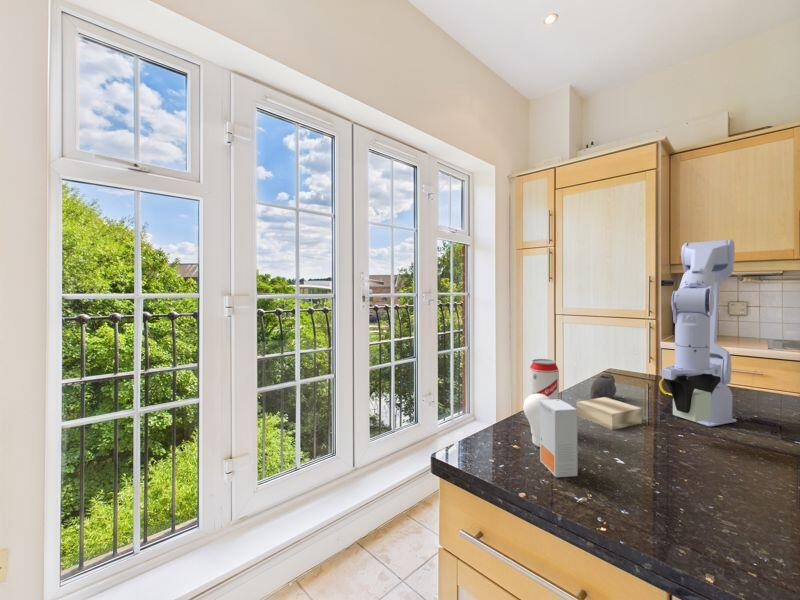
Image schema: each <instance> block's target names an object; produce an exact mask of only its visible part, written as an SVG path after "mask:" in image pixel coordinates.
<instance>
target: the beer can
mask: <svg viewBox="0 0 800 600" xmlns="http://www.w3.org/2000/svg"><path fill="white" fill-rule="evenodd" d="M559 374H560V372H559V367H558V366H557V361H556V360H553V359H547V358H536V359H533V360H532V363H531V365H530V367H529V396H530V395H532V394H543V395H545V396H547V397H548V398H550V399H551V400H553V399H559V398H560V393H559V392H560V390H559V387H560V386H559V385H560V379H559V378H560V375H559Z"/></svg>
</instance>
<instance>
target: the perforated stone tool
mask: <svg viewBox="0 0 800 600" xmlns="http://www.w3.org/2000/svg"><path fill="white" fill-rule="evenodd" d="M615 382H616V380H615V377H614V375H612V374H609V373H604V374H602V375H600V376H598V377H597V378H596V379H594V381H593V382H592V384H591V387H590V391H589V392H590V394H589V395H590V399H596V398H602V397H607V398H610V399H614V397H615V396H616V393H617V387H616V384H615Z"/></svg>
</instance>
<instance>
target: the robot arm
mask: <svg viewBox="0 0 800 600" xmlns="http://www.w3.org/2000/svg"><path fill="white" fill-rule="evenodd" d="M735 249H736V247H735V241H734V240H733V239H732V238H729V239H724V240H722V239H720V240H710V241H697V242H685V243H684V244H683V245H682V246H681V255H680V256H681V257H680V258H681V264H682V267H683V272H684V273H683V275H682V277H681V281H680V284H679V287H678V289H677V290H673V291H672V295H671V310H672V317H673V318H672V319H673V322H672V323H673V324H674V325H675V326H674V364H672V365H670V366H668V367H663V368H661V379H662V378H664V380H663V381H664V382H665V384H666V386H667V388H668V389H669V391H670V393H671V394H672V395H671V396H672V400H673V399H674V402H675V406H676V409H677V410H678V411H681V412H684V413H689V411H690V407H691V399H692V394H693V391H694V389H698V390H702V391H706V392H710V393H711V419H709V420H703V421H698V422H696V423H697V424H700V425H702V426H705V427H715V426H720V425H725V424H730V423H736V422H737V419H736V418H733V392H732V390H731V389H730V388H729V387H728V385H729V384H731V380H732V356H731V354H730V351H728V350H727V349H725V348H724V347H722V346H721V345H719V344H718V343H717V339H718V338H717V337H718V324H719V322H718V321H719V320H718V318H719V303H720V301H719V300H720V289H721V285H722V283H723V281H724V279H727V278H728V277H729V278H730V277H731V276H732V275H733V274H732V273H733V272H734V267H735V265H734V264H735Z"/></svg>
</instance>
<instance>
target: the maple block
mask: <svg viewBox="0 0 800 600" xmlns="http://www.w3.org/2000/svg"><path fill="white" fill-rule="evenodd" d="M576 409H577V417H578V416H579V417H578V418H580V417H582V418H581V419H583V418H584V419H583V420H585V419H587V420H586V421H588V420H589V421H588V422H591V421H592V422H591V423H593V422H594V424H596V423H597V425H598V424H600V425H599V426H601V425H602V426H601V427H603V426H604V428H606V427H607V428H606V429H609V430H611V431H614V430H617V429H618V430H619V429H623V428H627V427H632V426H635V425H640V424H642V423H643V408H642V407H639V406H636V405H633V404H630V403H626V402H623V401H620V400H616V399H614V398H612V399H610V398H607V397H602V398H596V399H591V398H590V399H586V400H580V401H576ZM613 429H614V430H613Z"/></svg>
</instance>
